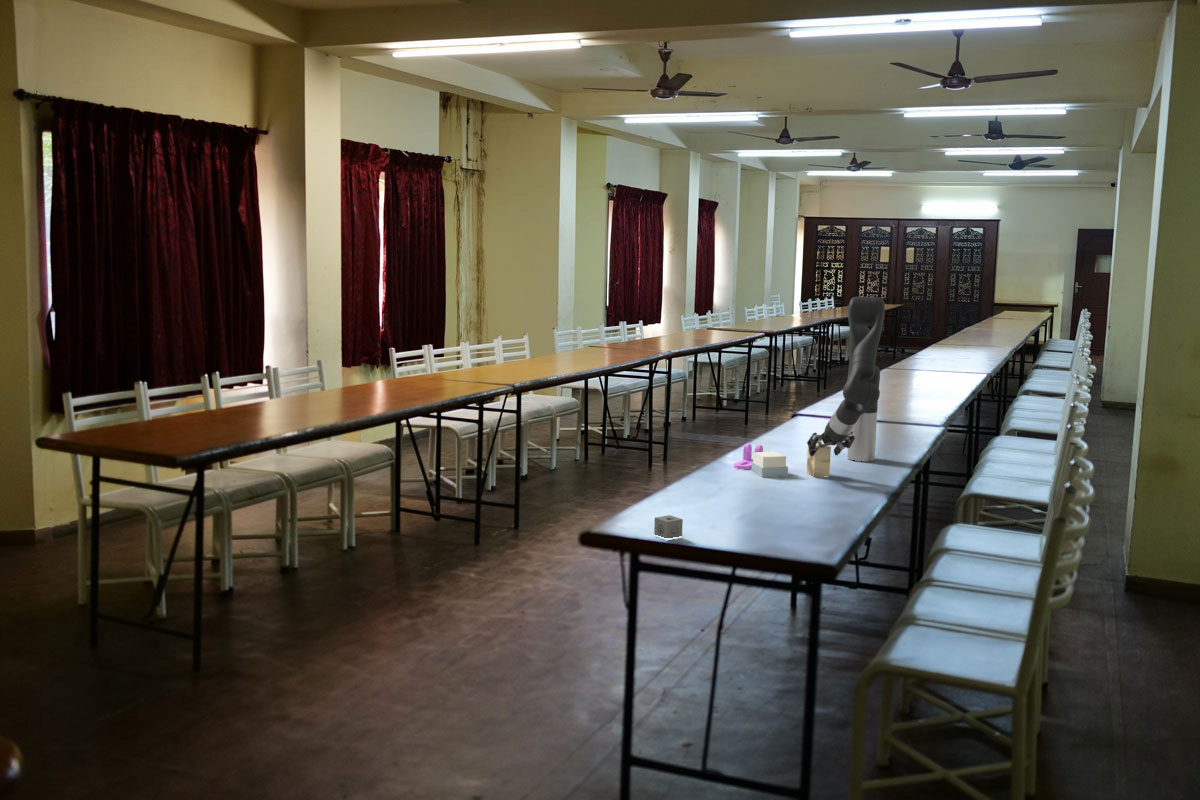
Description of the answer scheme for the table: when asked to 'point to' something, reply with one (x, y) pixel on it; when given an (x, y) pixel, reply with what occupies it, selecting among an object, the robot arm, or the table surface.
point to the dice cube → (668, 526)
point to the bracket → (747, 457)
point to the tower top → (769, 459)
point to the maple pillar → (819, 462)
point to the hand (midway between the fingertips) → (823, 453)
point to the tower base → (769, 471)
